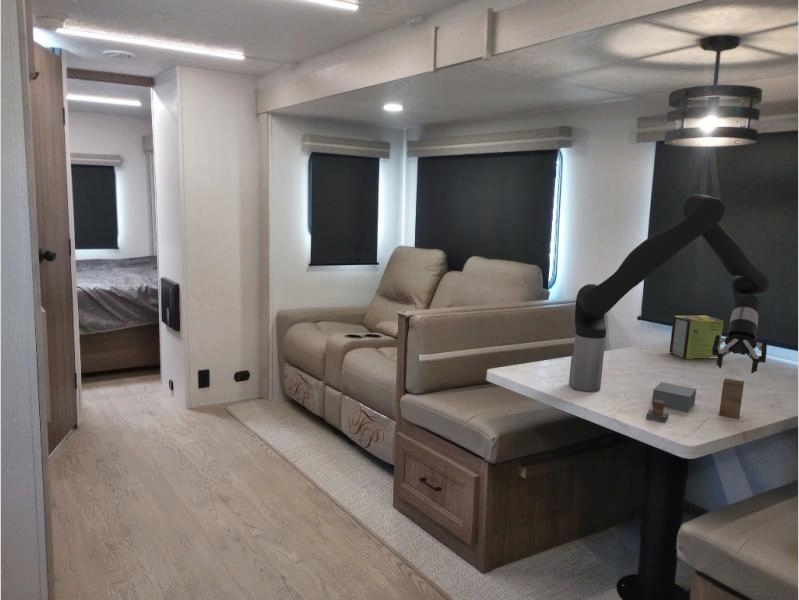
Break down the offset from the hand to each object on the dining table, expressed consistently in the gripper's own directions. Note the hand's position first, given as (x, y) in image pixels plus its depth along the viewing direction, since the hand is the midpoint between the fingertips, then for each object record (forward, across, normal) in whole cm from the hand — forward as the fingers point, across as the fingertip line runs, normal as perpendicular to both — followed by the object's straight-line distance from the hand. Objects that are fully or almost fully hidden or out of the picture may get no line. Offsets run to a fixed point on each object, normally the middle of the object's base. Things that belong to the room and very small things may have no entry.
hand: (736, 369), depth 183 cm
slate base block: (+14, -15, +3) cm, 21 cm away
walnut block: (+14, 0, +3) cm, 14 cm away
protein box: (-37, -17, +54) cm, 68 cm away
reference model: (+26, -17, -9) cm, 32 cm away
